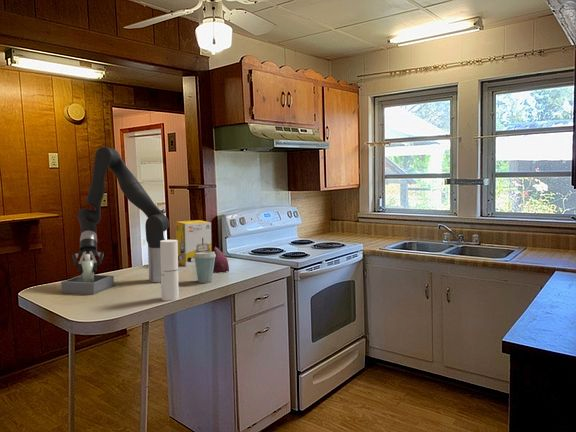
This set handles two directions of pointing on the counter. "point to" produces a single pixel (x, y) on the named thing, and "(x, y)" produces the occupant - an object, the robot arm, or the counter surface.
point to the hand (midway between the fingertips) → (87, 271)
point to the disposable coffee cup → (204, 266)
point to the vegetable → (220, 262)
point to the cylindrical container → (169, 270)
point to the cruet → (87, 269)
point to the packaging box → (192, 240)
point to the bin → (87, 285)
